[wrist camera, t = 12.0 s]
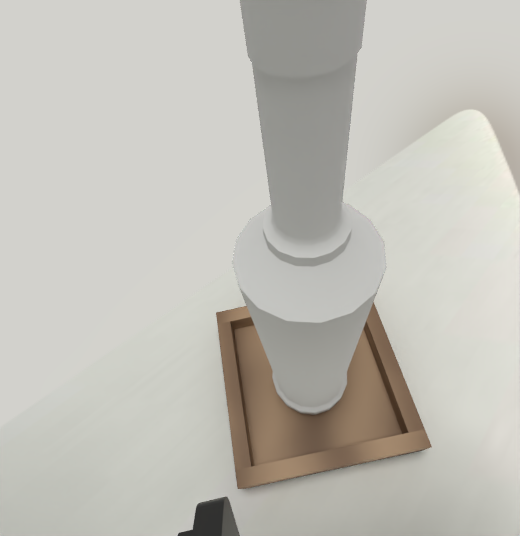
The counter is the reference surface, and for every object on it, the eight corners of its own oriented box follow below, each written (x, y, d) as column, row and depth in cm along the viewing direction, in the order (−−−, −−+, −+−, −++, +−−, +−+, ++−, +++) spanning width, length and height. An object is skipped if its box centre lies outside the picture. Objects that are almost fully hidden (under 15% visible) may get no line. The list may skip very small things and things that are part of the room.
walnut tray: (244, 488, 23) (237, 488, 21) (222, 324, 30) (216, 312, 28) (421, 450, 23) (431, 446, 21) (360, 294, 30) (364, 280, 28)
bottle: (284, 338, 28) (201, -134, 7) (351, 355, 26) (508, -169, 5) (265, 404, 25) (39, -12, 4) (337, 427, 24) (531, -21, 3)
